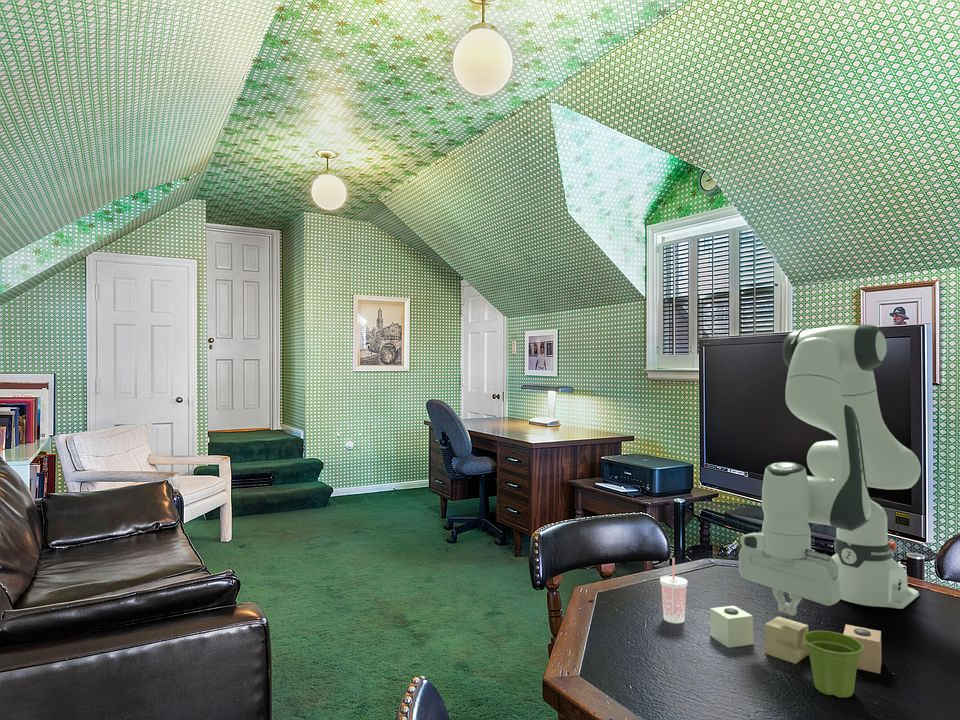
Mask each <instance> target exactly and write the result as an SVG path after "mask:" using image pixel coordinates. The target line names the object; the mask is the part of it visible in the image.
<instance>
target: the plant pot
mask: <svg viewBox="0 0 960 720" xmlns="http://www.w3.org/2000/svg"><path fill="white" fill-rule="evenodd" d="M803 640H804V641H805V643H806V646H807V649H808V653H809V655H808V657H809V661H810V666H811V673H812V678H813V685H814V688H815V689H817V691H819V692H820V693H822V694H823V695H827V696H835V697H837V698H842V699H844V698H850V697H852V696H853V694H854V691H855V684H856V683H855V682H856V677H857V670H858V669H857V663H858V659H859V657H860V653H861V652H862V651H863V645H862V643H861V642H859V641H858V640H856V639H854V638H852V637H850V636H847V635H844V634H843V633H840V632H836V631H831V630H830V631H829V630H811V631H808V632H807V633H805V634H804V635H803Z"/></svg>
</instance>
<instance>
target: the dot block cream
mask: <svg viewBox="0 0 960 720" xmlns="http://www.w3.org/2000/svg"><path fill="white" fill-rule="evenodd" d="M709 610H710V611H709V612H710V614H709V615H710V617H709V618H710V620H709V621H710V623H709V624H710V625H709V626H710V628H709V629H710V630H709V631H710V635H709V636H710V637H711V636H712V637H711V638H713V639H714V638H715V639H714V640H716V641H717V642H718V643H720V644H722V645H724V646H725V647H726V648H728V649H729V648H735V647H742V646H743V647H745V646H750V645H752V646H753V645H754V615H752V614H751V613H749V612H747V611H744V610H743V609H741V608H740V607H737V606H735V605H727V606H719V607H710V609H709Z"/></svg>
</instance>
